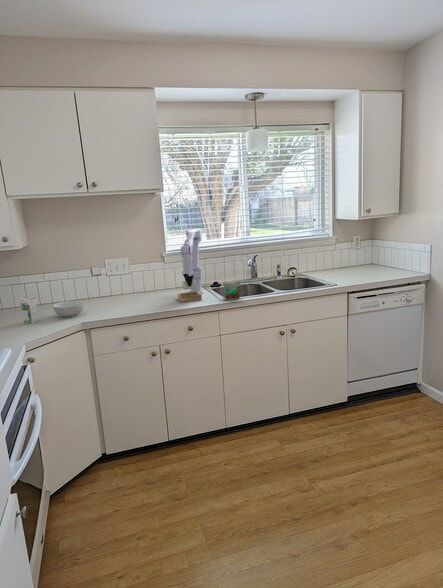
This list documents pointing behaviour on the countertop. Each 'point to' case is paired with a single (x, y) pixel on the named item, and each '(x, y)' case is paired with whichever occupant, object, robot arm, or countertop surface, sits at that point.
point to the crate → (189, 296)
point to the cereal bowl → (68, 308)
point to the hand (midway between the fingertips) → (188, 285)
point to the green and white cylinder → (29, 309)
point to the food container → (232, 290)
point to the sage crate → (189, 286)
